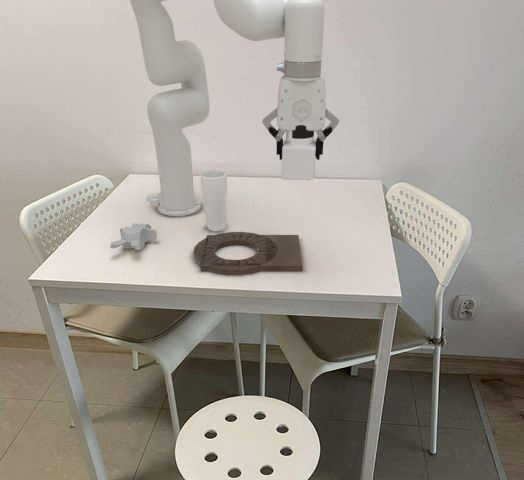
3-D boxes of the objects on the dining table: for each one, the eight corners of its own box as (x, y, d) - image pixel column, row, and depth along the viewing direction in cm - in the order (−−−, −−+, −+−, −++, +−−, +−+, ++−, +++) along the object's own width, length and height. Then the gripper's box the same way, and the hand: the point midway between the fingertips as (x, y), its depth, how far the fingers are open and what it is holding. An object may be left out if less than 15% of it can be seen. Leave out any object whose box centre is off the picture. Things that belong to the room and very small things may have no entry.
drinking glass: (232, 225, 148) (230, 170, 139) (223, 234, 143) (220, 179, 134) (210, 221, 150) (206, 168, 141) (200, 231, 145) (195, 176, 136)
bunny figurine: (160, 220, 141) (142, 238, 128) (162, 239, 144) (144, 258, 131) (126, 218, 142) (104, 236, 129) (128, 237, 145) (107, 256, 132)
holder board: (189, 275, 126) (189, 269, 125) (198, 237, 142) (198, 231, 141) (302, 275, 126) (302, 269, 125) (297, 236, 142) (298, 231, 141)
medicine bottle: (314, 170, 124) (317, 115, 117) (313, 180, 119) (316, 123, 112) (284, 169, 125) (285, 114, 118) (281, 179, 119) (282, 123, 112)
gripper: (259, 73, 106) (260, 163, 117) (347, 73, 106) (340, 163, 117) (260, 66, 112) (260, 152, 123) (343, 66, 112) (336, 152, 123)
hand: (299, 157), depth 120 cm, fingers closed on medicine bottle, 7 cm apart
